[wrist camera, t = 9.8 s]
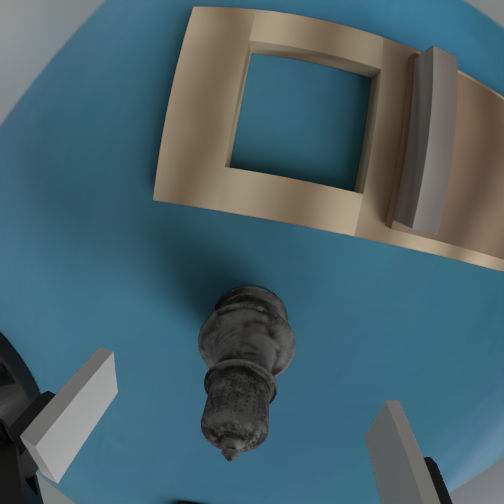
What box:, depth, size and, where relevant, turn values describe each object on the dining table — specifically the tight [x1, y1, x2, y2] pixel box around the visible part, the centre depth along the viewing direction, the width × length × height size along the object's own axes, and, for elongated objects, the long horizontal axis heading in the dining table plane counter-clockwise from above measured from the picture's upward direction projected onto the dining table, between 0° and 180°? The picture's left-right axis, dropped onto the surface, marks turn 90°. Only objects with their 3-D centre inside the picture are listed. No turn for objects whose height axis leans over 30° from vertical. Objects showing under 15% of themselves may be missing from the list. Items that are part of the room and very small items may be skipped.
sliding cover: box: [385, 45, 504, 260], centre depth 13 cm, size 11×11×4 cm
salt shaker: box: [198, 286, 296, 461], centre depth 15 cm, size 6×6×12 cm
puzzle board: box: [153, 7, 504, 272], centre depth 16 cm, size 28×13×2 cm, turn 80°
